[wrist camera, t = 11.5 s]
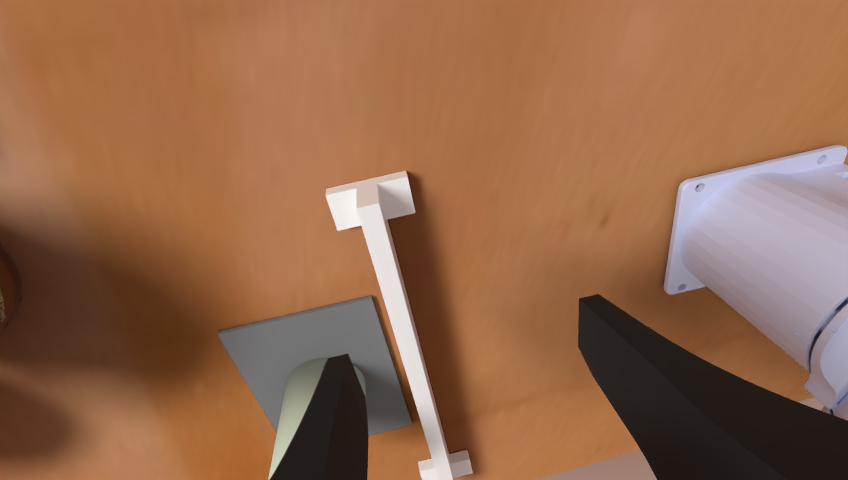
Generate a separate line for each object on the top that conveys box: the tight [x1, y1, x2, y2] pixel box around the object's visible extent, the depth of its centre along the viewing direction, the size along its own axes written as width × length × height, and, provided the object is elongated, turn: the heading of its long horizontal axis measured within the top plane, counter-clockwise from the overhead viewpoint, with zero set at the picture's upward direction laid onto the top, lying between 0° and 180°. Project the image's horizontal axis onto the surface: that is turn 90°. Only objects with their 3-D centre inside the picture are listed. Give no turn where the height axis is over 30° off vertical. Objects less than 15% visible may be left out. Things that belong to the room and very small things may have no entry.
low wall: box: [326, 171, 473, 480], centre depth 26 cm, size 4×26×3 cm, turn 11°
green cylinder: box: [268, 358, 366, 480], centre depth 24 cm, size 5×5×8 cm
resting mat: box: [217, 295, 412, 436], centre depth 27 cm, size 9×12×1 cm
